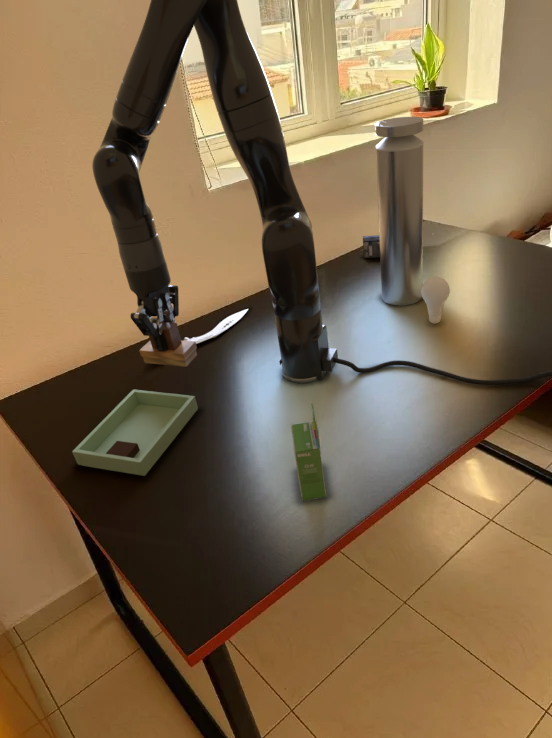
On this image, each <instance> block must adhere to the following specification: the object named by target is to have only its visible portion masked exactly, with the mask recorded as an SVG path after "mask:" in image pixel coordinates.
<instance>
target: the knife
mask: <svg viewBox="0 0 552 738" xmlns="http://www.w3.org/2000/svg"><path fill="white" fill-rule="evenodd" d="M248 311H249V308H247V309H243V310H241V311H240V310H239V311H238V312H235V313H233V314H231V315H229V316H227V317H226V318H224V319H222V321H219V323H218V324H217V325H216V326H215V327H214V328H213V329H212V330H210V331H208V332H206V333H205V334H203V335H199V336H193V337H192V338H189V337H187V336H185V337H184V338H183V341H195V342H196V345H197V344H200V343H202V342H206V341H207V340H210V339H214V338H216V337H218V336H219V335H220V334H222V333H223V332H225V331H226V330H228V329H229V328H230V327H232V326H233V325H235V324H236V323H237V322H239V321H240V320H241V319H242V318H243V317H244V316H245V314H246V313H247V312H248Z"/></svg>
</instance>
